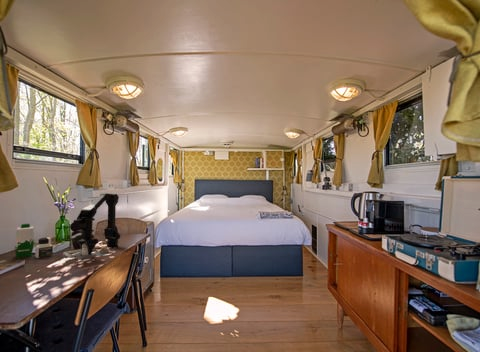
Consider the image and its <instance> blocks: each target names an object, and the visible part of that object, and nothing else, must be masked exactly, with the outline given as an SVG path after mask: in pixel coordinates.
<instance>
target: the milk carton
mask: <svg viewBox="0 0 480 352" xmlns="http://www.w3.org/2000/svg"><path fill="white" fill-rule="evenodd" d="M30 225H31V224H30V223H23V224H21V225H20V227H17V228H16V231H15V242H14V243H15V244H14V251H15V258H16V259H20V258H27V257H32V256H33V255H32V254H33V250H34V245H35V244H34V242H35V229H34V228H35V227H34V226H33V225H32V226H30Z"/></svg>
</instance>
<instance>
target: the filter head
mask: <svg viewBox="0 0 480 352" xmlns="http://www.w3.org/2000/svg"><path fill="white" fill-rule="evenodd" d="M109 254H112V252H111V251H109V248H107V250H101V249H99V251H96V252H91V254H90V255H88V256H82V254H78V255H76V256H75V257H76V258H78V259H80V260H81V261H83V260H87V259H91V258H96V257H101V256H104V255H105V256H106V255H109Z"/></svg>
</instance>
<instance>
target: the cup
mask: <svg viewBox="0 0 480 352" xmlns="http://www.w3.org/2000/svg"><path fill="white" fill-rule="evenodd" d="M78 233H80V231H75V232H74V231H71V234H70V235H71V236H70V237H72V236H74V235H76V234H78ZM92 236H93V238H95V236H94V234H93V233H92ZM71 243H72V248H73V250H79V249H81V247H80V244H79V243H78V242H76V243H74V242H72V241H71Z"/></svg>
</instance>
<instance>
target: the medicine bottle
mask: <svg viewBox="0 0 480 352" xmlns="http://www.w3.org/2000/svg"><path fill="white" fill-rule="evenodd" d="M51 239H52V238H51V237H48V236H47V237H41V238H39V239H38V245H35V256H34V257H35V258H37V259H40V258H45V257H50V256H53V253H54V252H53V251H54V250H53V249H54V245H52V243H51V241H52V240H51Z"/></svg>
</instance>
